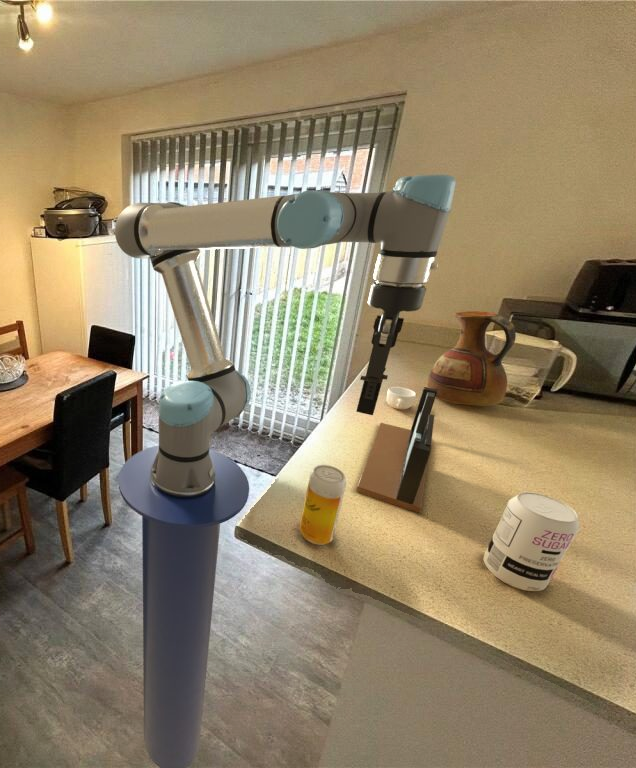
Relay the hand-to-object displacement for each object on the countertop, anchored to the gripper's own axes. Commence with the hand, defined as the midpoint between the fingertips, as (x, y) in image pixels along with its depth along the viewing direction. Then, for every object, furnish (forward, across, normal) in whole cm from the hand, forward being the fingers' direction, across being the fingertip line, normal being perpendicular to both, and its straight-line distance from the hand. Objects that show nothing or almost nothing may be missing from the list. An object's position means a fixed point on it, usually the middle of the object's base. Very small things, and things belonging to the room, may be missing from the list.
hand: (365, 411), depth 73 cm
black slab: (+22, +24, -11) cm, 34 cm away
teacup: (+25, +65, -7) cm, 70 cm away
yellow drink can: (+25, -8, +3) cm, 27 cm away
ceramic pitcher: (+25, +83, -24) cm, 90 cm away
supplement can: (+25, +2, -28) cm, 37 cm away
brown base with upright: (+25, +29, -9) cm, 39 cm away
